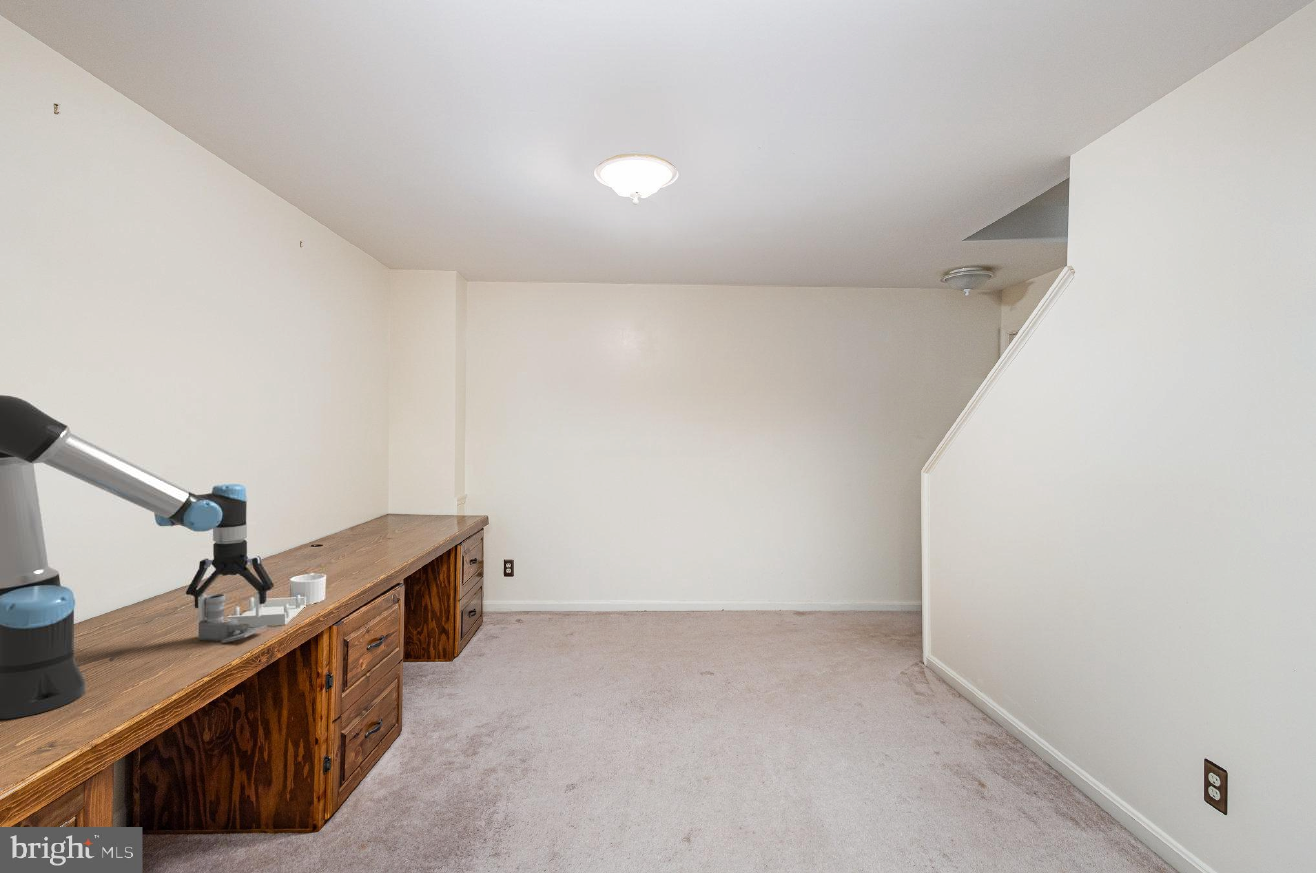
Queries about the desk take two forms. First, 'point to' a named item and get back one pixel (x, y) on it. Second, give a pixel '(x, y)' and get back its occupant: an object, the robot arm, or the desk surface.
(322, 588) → the mug
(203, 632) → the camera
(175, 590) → the desk surface
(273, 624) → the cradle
